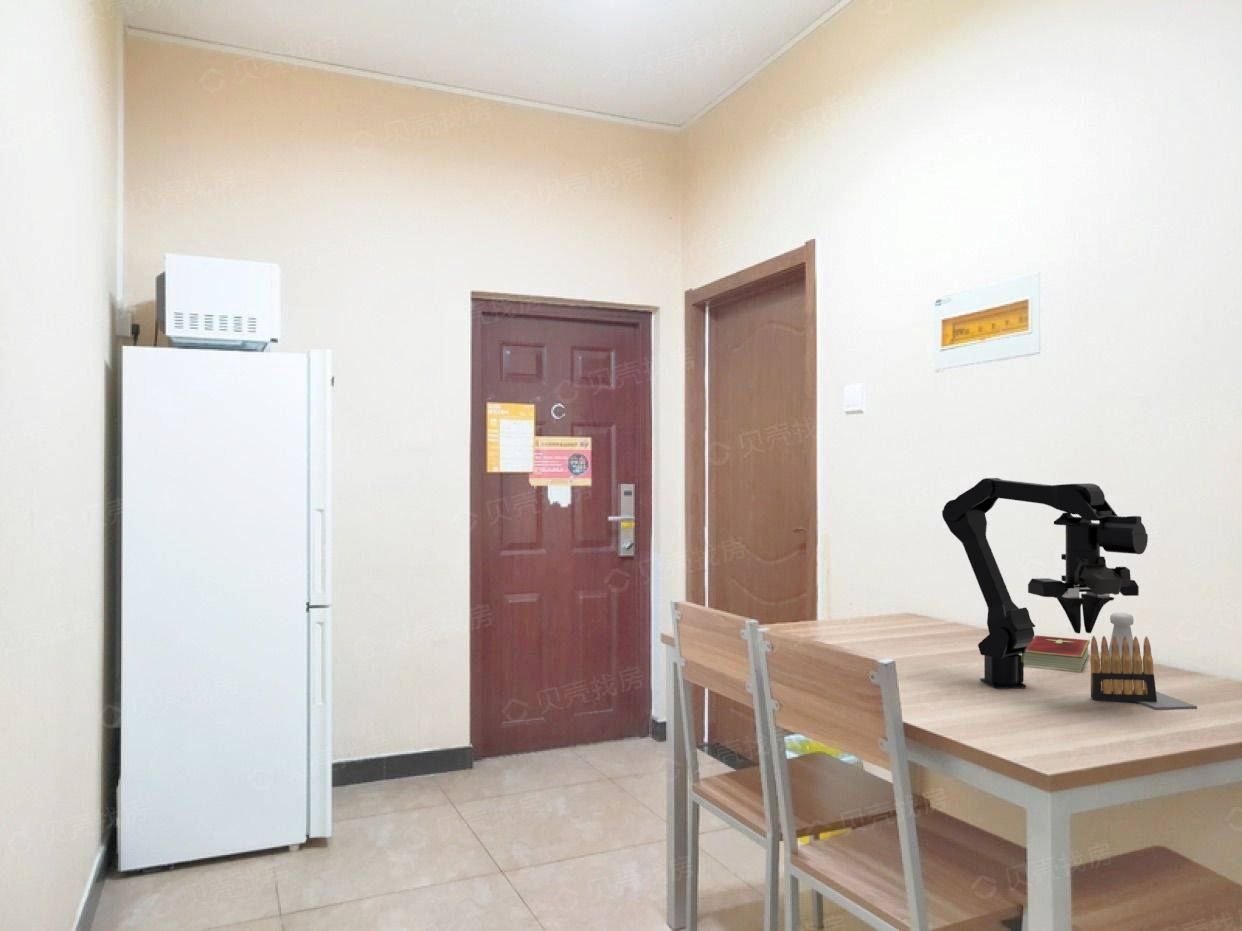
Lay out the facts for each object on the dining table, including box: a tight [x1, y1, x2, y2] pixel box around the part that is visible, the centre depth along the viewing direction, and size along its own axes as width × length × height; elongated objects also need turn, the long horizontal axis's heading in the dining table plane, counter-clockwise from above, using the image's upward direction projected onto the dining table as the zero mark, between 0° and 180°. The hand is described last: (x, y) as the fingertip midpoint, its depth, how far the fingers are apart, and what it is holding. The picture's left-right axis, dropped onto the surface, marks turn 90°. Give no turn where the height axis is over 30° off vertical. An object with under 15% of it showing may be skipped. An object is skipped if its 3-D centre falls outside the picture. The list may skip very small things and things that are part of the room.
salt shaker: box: [1108, 612, 1135, 672], centre depth 183 cm, size 6×6×13 cm
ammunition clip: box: [1089, 635, 1157, 702], centre depth 162 cm, size 11×2×12 cm, turn 71°
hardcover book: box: [1021, 634, 1091, 673], centre depth 197 cm, size 12×21×4 cm, turn 147°
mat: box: [1133, 690, 1198, 711], centre depth 163 cm, size 8×12×1 cm, turn 5°
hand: (1082, 633), depth 161 cm, fingers closed
